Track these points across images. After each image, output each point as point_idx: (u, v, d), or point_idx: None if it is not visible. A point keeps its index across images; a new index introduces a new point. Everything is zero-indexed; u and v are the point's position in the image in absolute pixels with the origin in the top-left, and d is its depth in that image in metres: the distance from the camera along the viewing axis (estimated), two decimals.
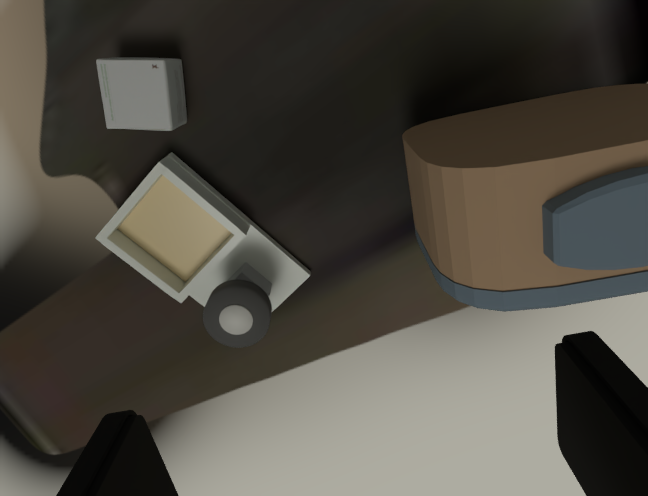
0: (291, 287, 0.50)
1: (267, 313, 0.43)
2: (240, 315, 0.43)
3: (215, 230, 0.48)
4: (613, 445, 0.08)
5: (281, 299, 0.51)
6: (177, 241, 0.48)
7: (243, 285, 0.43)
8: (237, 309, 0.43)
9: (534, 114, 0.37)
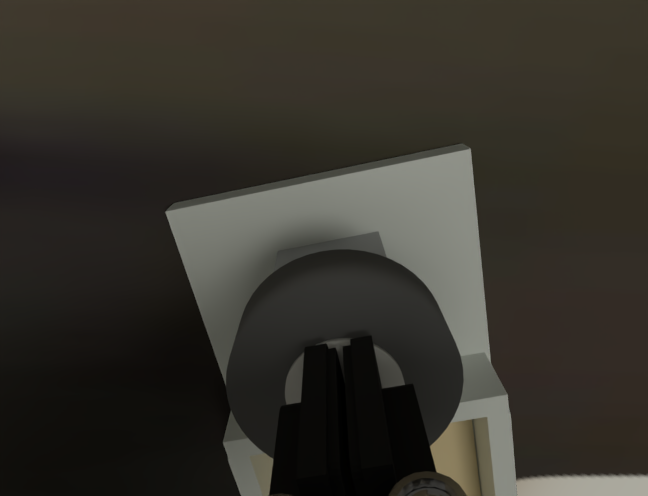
0: (235, 210, 0.17)
1: (236, 353, 0.12)
2: None
3: None
4: None
5: (283, 196, 0.16)
6: None
7: None
8: None
9: None
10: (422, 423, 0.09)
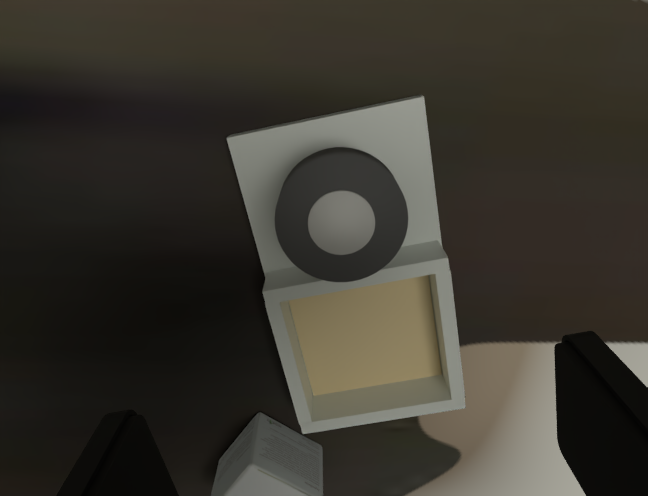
0: (272, 137, 0.25)
1: (281, 199, 0.21)
2: (326, 226, 0.22)
3: (319, 296, 0.29)
4: (613, 445, 0.08)
5: (303, 128, 0.25)
6: (382, 314, 0.29)
7: None
8: (323, 240, 0.22)
9: None
10: None
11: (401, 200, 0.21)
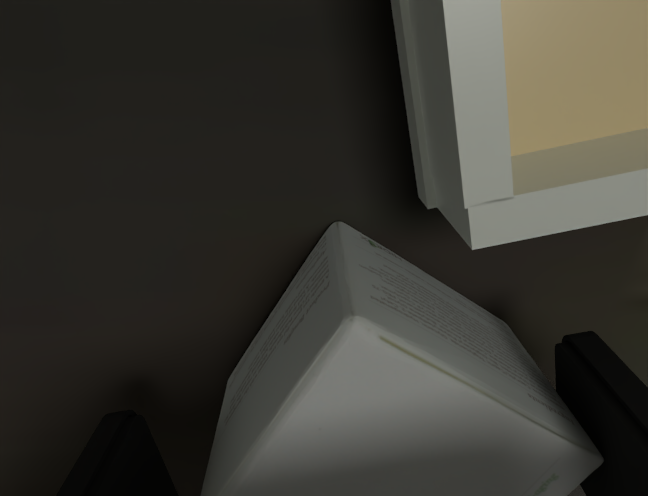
0: None
1: None
2: None
3: None
4: (613, 445, 0.08)
5: None
6: None
7: None
8: None
9: None
10: None
11: None
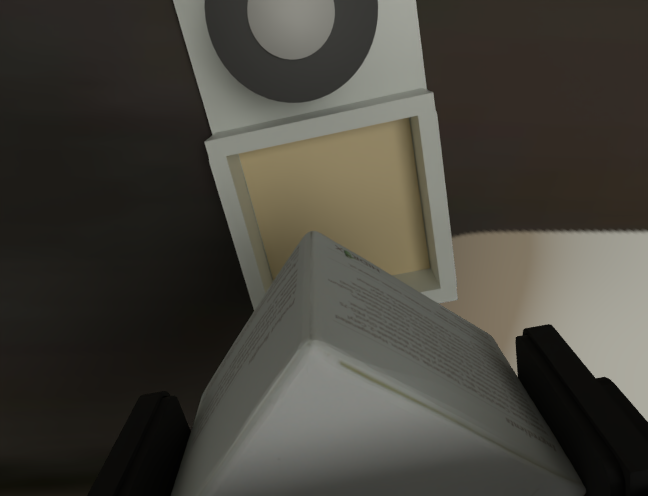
0: None
1: None
2: (271, 16, 0.17)
3: (279, 165, 0.24)
4: (562, 431, 0.09)
5: None
6: (357, 189, 0.24)
7: None
8: (268, 37, 0.17)
9: None
10: (644, 420, 0.08)
11: None
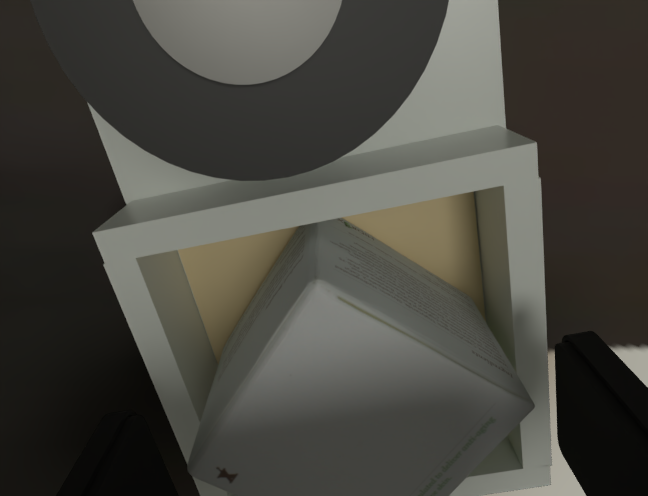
0: None
1: None
2: None
3: (245, 255, 0.14)
4: (613, 445, 0.08)
5: None
6: None
7: None
8: (182, 30, 0.07)
9: None
10: None
11: None
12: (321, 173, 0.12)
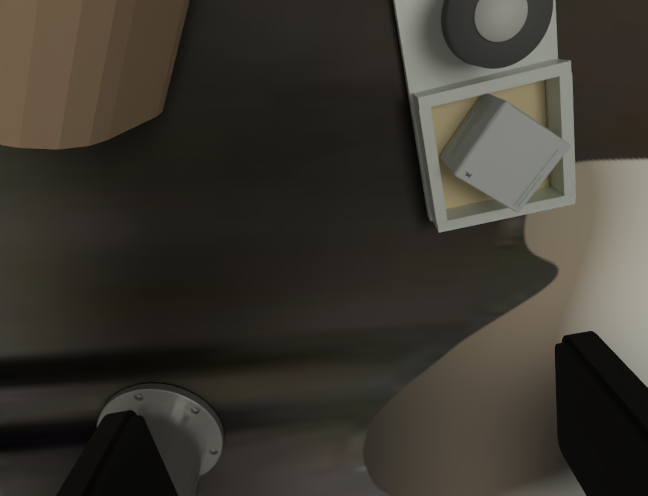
0: None
1: None
2: (489, 16, 0.28)
3: (453, 115, 0.35)
4: (613, 445, 0.08)
5: None
6: None
7: (455, 51, 0.30)
8: (485, 28, 0.28)
9: None
10: None
11: None
12: (492, 76, 0.33)
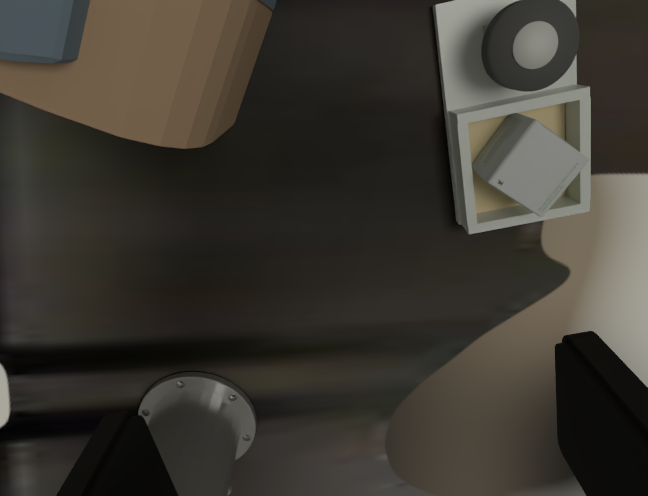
0: (467, 4, 0.37)
1: (497, 28, 0.33)
2: (525, 47, 0.33)
3: (484, 130, 0.40)
4: (613, 445, 0.08)
5: None
6: None
7: (493, 76, 0.35)
8: (521, 57, 0.33)
9: None
10: None
11: (576, 28, 0.33)
12: (521, 98, 0.38)
